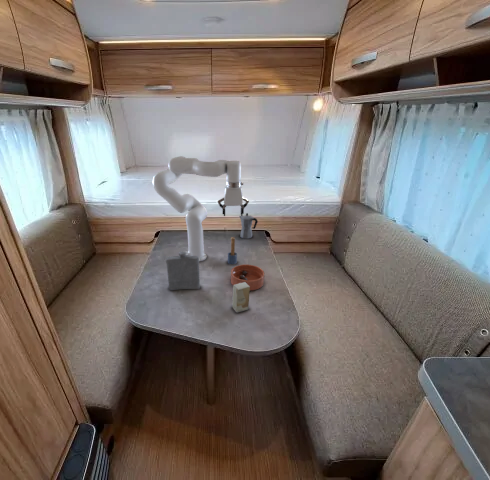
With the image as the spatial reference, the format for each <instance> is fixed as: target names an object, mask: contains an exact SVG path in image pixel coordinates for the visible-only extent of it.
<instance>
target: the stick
mask: <svg viewBox="0 0 490 480" xmlns="http://www.w3.org/2000/svg"><path fill="white" fill-rule="evenodd" d="M235 242H236V238H235V236H231V237H230V252H231V256H234V252H235V250H236V249H235V248H236V247H235V246H236V245H235V244H236V243H235ZM235 253H236V252H235Z"/></svg>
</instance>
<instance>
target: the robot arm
mask: <svg viewBox="0 0 490 480" xmlns="http://www.w3.org/2000/svg"><path fill="white" fill-rule="evenodd" d="M184 174H185V175H195V176H201V177H208V178H217V177H220V176H222V175H225V174H226V186H224V192H223V197H222V198H220V199H219V200H217V204H218V206H219V207H220V208H221V209H222V215H223V217H226V208H227V207H237V206H238V207H240V216H244V211H245V208H246V207H247V206H248V204H249V203H250V200H249V199H247V198H245V197H244V196H243V187H242V186H244V182H242V162H241V161H240V160H226V159H218V160H216V161H202V160H199V159H198V158H195V157H185V156H183V155H182V156H181V155H180V156H176V157H172V158H171V159H170V160H169V161H168V168H166V169H164V170H161V171H158V172H157V173H155V175H154V176H153V178H152V186H153V189H154V191H155V192H156V193H157V195H159V196H160V197H161V198H162V199H164V200H165V202H167V204H169V205H170V206H171V207H172V208H173V209H174V210H175V211H176V212H177V213H180V214H184V213H186V212H187V211H188V212H187V213H186V215H185V223H186V231H187V244H188V245H187V247H188V248H187V250H186V251H184V250H183V251H184V252H186V255H188V256H198V257H199V262H202V261H205V260H206V259H207V253H205V247H204V243H205V242H204V228H203V223H202V222H204V221H205V220H206V219H207V217H208V215H209V213H208V210H207V208H206V207H205V206H204V205H203V203H201V202H200V201H199V200H198V199H197V198H196V197H194V196H193V195H192V194H189V193H184V194H181V193H179V191H177V190H176V189H175V188H173V187H171V186H170V185H171V184H173V183H175V182H176V181H178V179H179V178H180V177H181V176H182V175H184ZM222 202H223V204H222ZM243 202H245V203H243Z"/></svg>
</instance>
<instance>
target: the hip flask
mask: <svg viewBox="0 0 490 480" xmlns="http://www.w3.org/2000/svg"><path fill="white" fill-rule="evenodd" d="M165 261H166V271H167V273H166V274H167V282H168V283H167V284H168V290H169V291H176V290H199V289H200V288H201V283H200V281H201V280H200V261H199V257H198V256H188V255H186V252H184V250H182V251H179V252H178V255H174V256H173V255H172V256H167V257H165Z"/></svg>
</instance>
